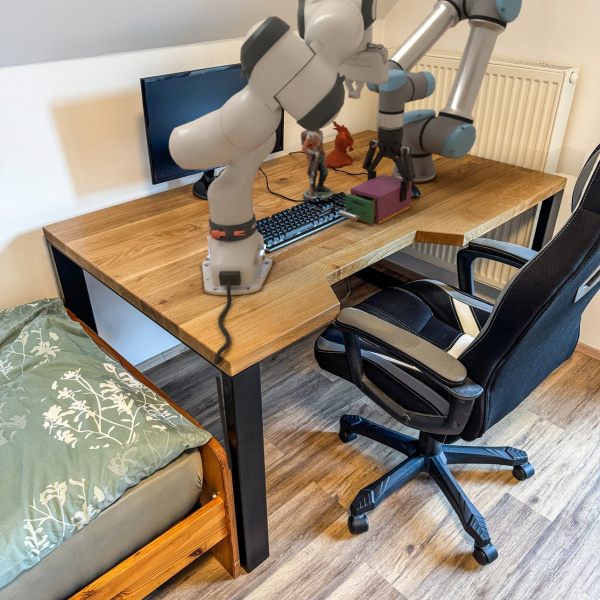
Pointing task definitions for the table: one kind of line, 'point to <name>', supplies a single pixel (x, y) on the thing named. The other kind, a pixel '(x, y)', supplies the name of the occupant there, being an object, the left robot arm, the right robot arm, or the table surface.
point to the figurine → (315, 164)
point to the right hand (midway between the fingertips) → (387, 196)
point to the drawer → (359, 208)
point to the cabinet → (384, 196)
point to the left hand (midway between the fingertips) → (354, 98)
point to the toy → (340, 148)
